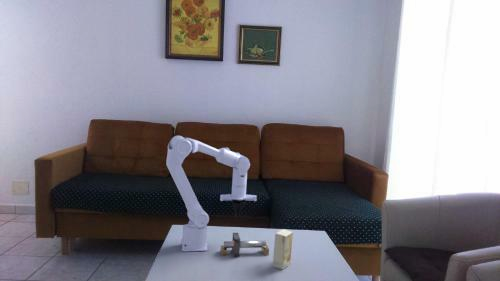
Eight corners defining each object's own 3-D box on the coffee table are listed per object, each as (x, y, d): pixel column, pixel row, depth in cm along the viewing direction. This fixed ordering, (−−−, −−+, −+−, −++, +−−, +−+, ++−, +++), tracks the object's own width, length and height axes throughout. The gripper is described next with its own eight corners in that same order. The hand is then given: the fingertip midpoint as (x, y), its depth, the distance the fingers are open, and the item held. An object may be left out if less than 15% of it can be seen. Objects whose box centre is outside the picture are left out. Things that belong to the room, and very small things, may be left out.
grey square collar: (233, 256, 129) (234, 239, 128) (231, 249, 135) (232, 232, 134) (239, 256, 129) (240, 239, 129) (237, 249, 136) (237, 232, 135)
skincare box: (283, 270, 121) (285, 236, 120) (272, 266, 124) (274, 233, 122) (290, 263, 127) (293, 231, 125) (280, 260, 129) (282, 228, 128)
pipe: (221, 255, 129) (222, 243, 129) (220, 251, 133) (221, 238, 133) (268, 255, 133) (269, 242, 132) (266, 250, 136) (267, 238, 136)
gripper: (222, 187, 134) (220, 221, 136) (259, 187, 137) (256, 221, 138) (220, 182, 141) (218, 215, 143) (255, 183, 144) (253, 215, 145)
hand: (237, 217), depth 141 cm, fingers closed
